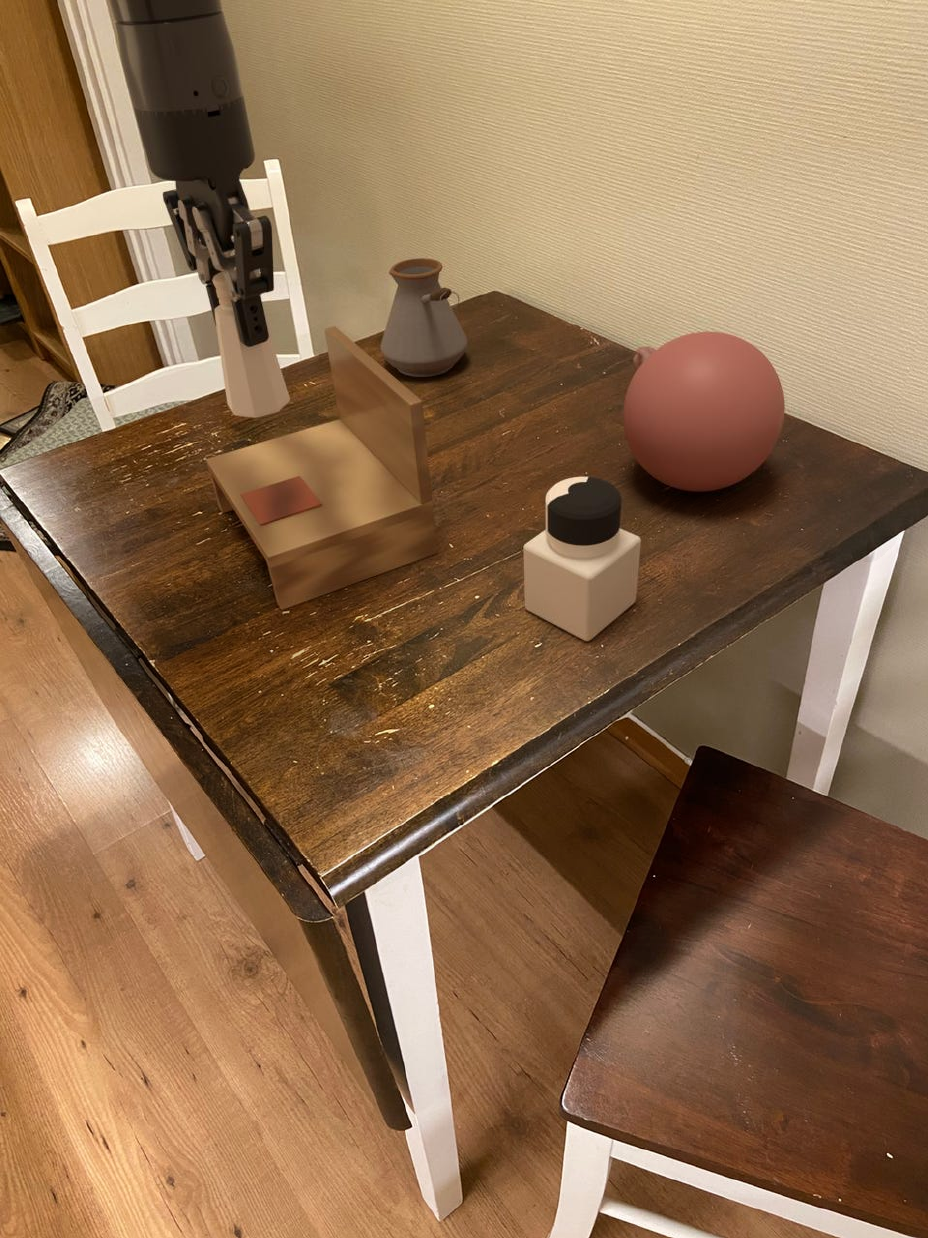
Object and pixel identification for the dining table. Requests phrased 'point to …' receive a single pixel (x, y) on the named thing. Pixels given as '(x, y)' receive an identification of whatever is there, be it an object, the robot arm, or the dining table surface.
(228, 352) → the pepper shaker
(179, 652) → the dining table surface
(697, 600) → the dining table surface
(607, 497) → the medicine bottle
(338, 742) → the dining table surface
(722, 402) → the balloon
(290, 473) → the shelf
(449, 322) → the coffee pot
